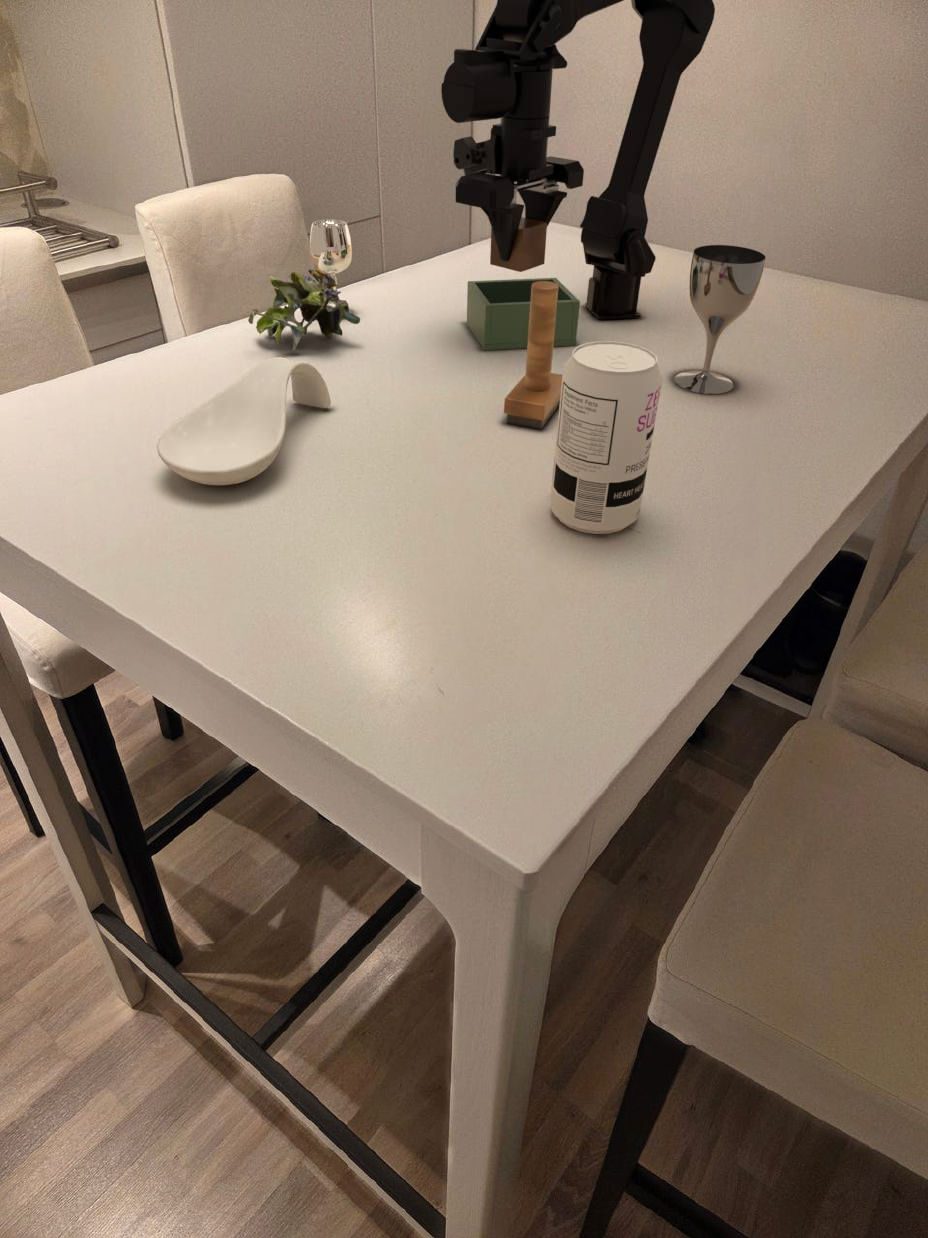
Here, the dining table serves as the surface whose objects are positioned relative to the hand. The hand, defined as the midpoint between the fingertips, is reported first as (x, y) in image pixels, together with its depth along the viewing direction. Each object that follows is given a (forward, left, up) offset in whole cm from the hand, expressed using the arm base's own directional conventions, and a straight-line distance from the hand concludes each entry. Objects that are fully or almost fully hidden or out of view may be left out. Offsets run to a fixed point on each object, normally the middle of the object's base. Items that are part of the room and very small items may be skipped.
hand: (517, 255), depth 110 cm
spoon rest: (+35, +27, -11) cm, 45 cm away
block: (0, 0, -1) cm, 1 cm away
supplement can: (+5, +46, -11) cm, 48 cm away
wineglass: (+23, -14, -11) cm, 29 cm away
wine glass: (-19, +18, -11) cm, 29 cm away
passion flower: (+28, -2, -11) cm, 30 cm away
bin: (-1, -2, -11) cm, 11 cm away
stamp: (+4, +23, -11) cm, 26 cm away
